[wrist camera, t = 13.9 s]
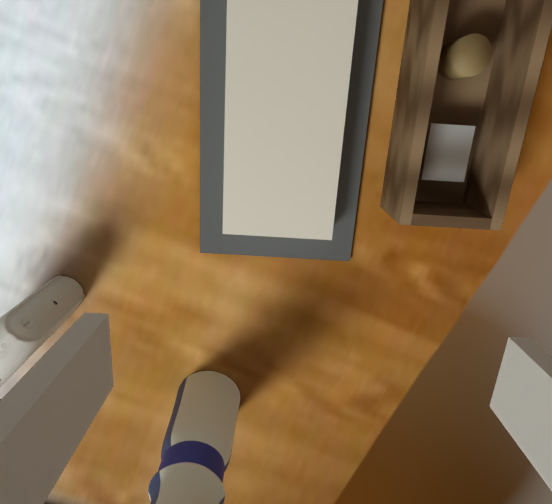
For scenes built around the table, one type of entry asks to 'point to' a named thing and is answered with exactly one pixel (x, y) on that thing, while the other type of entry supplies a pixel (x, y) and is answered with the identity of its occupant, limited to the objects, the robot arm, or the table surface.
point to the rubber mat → (213, 142)
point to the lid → (285, 114)
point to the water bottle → (197, 441)
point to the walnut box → (463, 109)
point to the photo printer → (35, 322)
